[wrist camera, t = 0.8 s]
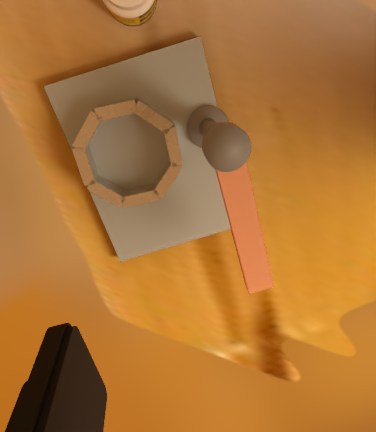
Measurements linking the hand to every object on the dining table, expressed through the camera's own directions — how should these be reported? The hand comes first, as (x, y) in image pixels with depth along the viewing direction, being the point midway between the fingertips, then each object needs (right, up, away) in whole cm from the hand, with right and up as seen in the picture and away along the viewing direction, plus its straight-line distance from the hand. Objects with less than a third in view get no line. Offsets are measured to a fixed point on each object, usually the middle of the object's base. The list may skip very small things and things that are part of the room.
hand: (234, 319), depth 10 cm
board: (-5, +9, +28) cm, 30 cm away
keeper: (+3, +4, +20) cm, 20 cm away
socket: (-8, +10, +26) cm, 29 cm away
